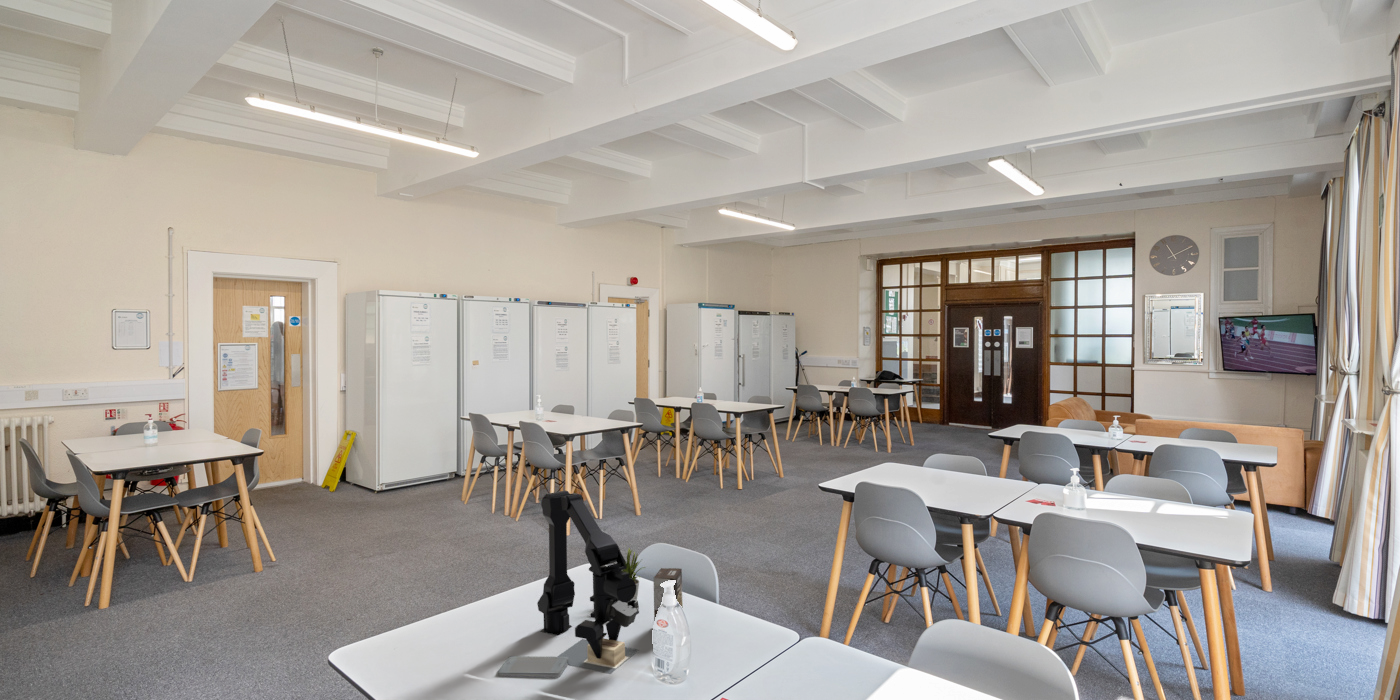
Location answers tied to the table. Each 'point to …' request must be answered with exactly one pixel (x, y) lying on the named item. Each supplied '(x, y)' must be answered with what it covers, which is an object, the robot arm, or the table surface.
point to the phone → (533, 666)
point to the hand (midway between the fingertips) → (606, 652)
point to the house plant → (632, 570)
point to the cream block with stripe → (608, 652)
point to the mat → (580, 659)
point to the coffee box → (659, 578)
